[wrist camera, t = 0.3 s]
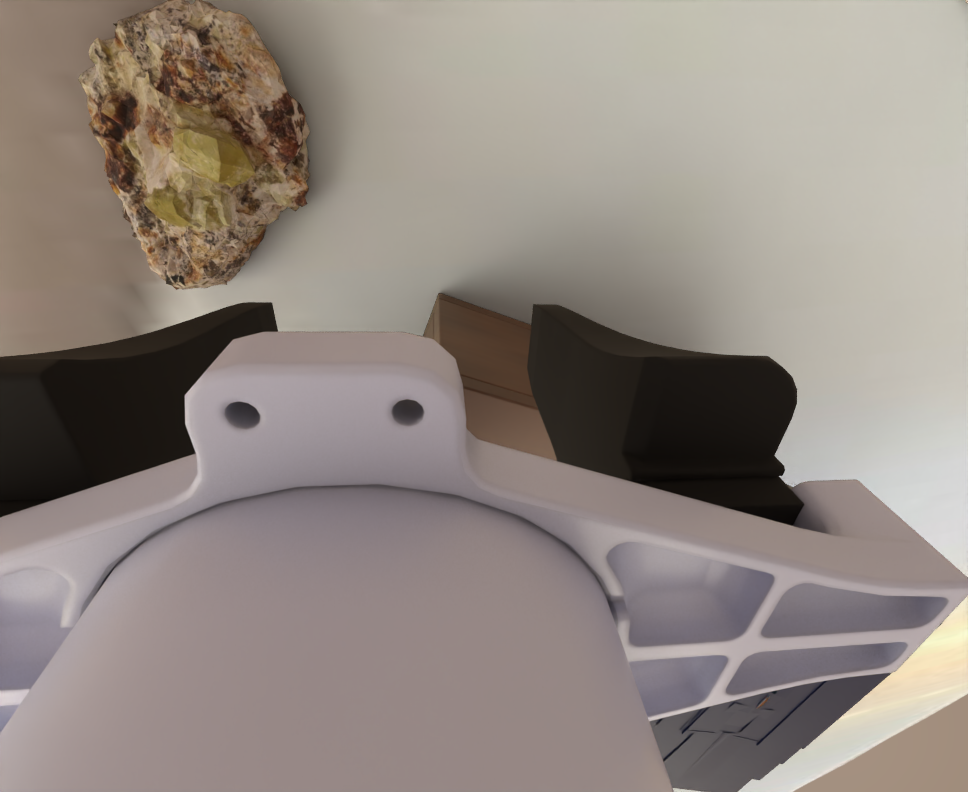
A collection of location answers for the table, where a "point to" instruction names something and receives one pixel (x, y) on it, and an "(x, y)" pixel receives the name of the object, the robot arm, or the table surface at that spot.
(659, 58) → the table surface
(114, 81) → the mineral rock
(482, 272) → the table surface
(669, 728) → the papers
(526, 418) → the cabinet
